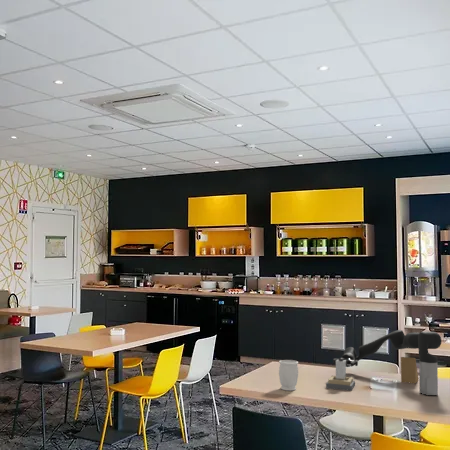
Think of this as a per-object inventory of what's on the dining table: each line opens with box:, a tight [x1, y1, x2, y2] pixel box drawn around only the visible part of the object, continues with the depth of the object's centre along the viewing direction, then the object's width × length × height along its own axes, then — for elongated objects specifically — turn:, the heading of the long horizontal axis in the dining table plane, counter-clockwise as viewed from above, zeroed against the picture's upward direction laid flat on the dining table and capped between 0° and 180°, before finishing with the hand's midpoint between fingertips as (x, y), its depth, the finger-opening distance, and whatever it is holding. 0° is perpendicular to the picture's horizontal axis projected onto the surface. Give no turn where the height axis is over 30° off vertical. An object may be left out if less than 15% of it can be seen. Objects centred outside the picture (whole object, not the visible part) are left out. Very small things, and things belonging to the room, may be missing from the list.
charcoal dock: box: [325, 375, 356, 392], centre depth 302 cm, size 14×14×4 cm
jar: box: [278, 359, 299, 392], centre depth 294 cm, size 11×10×15 cm
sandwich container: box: [400, 356, 419, 384], centre depth 323 cm, size 9×15×15 cm, turn 153°
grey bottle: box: [335, 357, 347, 381], centre depth 303 cm, size 5×5×13 cm
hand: (343, 364), depth 313 cm, fingers open, 8 cm apart
